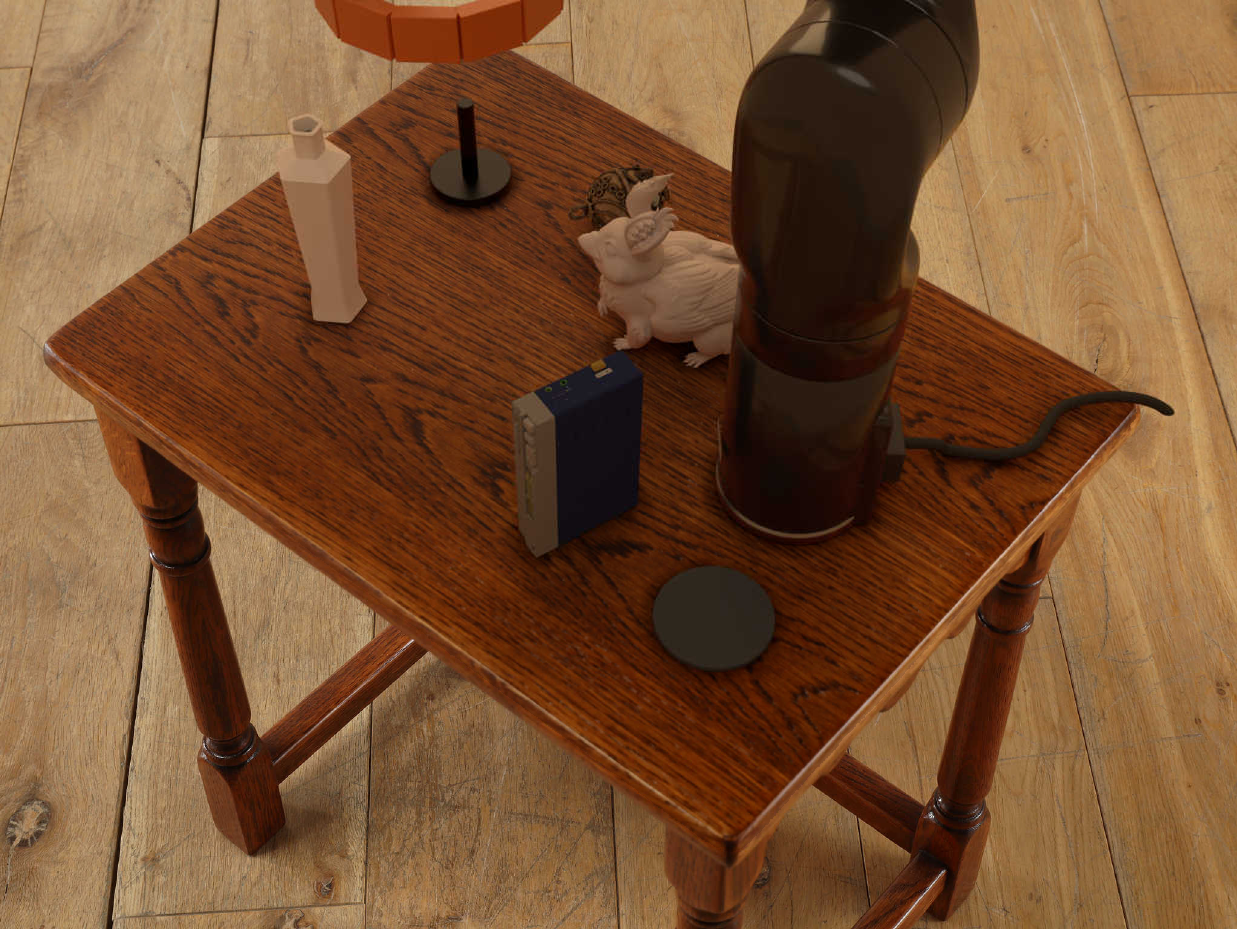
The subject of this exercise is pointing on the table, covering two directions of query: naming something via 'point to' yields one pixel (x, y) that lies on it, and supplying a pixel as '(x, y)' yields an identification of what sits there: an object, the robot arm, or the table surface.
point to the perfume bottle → (323, 218)
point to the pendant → (615, 195)
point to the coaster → (713, 618)
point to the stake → (469, 168)
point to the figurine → (664, 278)
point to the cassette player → (578, 451)
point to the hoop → (437, 27)
